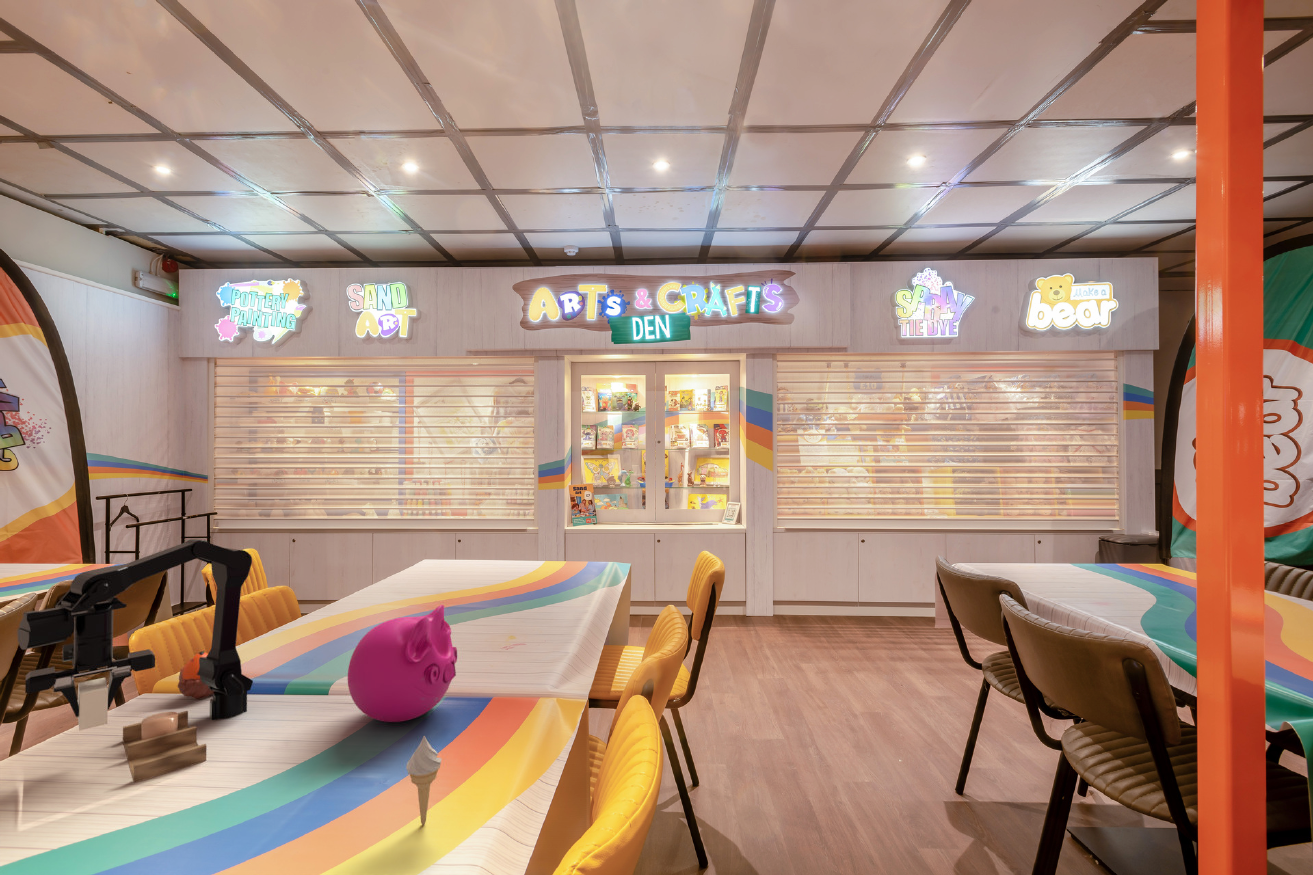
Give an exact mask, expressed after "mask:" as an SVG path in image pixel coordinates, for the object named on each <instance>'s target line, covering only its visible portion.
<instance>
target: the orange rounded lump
mask: <svg viewBox="0 0 1313 875" xmlns="http://www.w3.org/2000/svg"><path fill="white" fill-rule="evenodd" d="M208 653H209V652H205V651H204V650H203V651H199V652H197V654H195V655H194V656H193V657H192V658H191V659H189V660H188V661H187V662H186V663H185V665H184V666H183V667H182V668H180V671H179V676H178V680H179V681H178V683H177V688H178V690H179V692H180V693H181V694H182V695H183V696H184V697H186V698H187V697H190V698H192V699H195V700H203V699H205V698H209V697H212V696H213V692H215V691H213V690H212V691H211V690H210V689H209V687H208V685H205V684H204V683H203V682H201V680H200V676H199V675H197V673H198V671H199V658H200V657H206V656H207V655H208Z"/></svg>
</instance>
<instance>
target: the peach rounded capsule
mask: <svg viewBox="0 0 1313 875" xmlns="http://www.w3.org/2000/svg"><path fill="white" fill-rule="evenodd" d="M178 713H179V712H177V711H165V712H159V713H156V714H152V715H149V716H147V717H145V718H143V719H142V720H141V721H140V722H141V741H143V740H146V739H150V738H154V737H158V736H161V735H165V734H169V733H172V732H176V731H178Z"/></svg>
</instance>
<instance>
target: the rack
mask: <svg viewBox="0 0 1313 875" xmlns="http://www.w3.org/2000/svg"><path fill="white" fill-rule="evenodd" d="M177 713H178V731H176V732H172V733H169V734H165V735H161V736H158V737H154V738H150V739H146V740H143V741H141V722H142V721H140V722H137V723H133V724H129V725H125V726H123V727H122V744H123V747H124V750H125V755H126V757H127V761H128V766H129V768H130V772H131V777H132V781H133V783H134V784H135V783H138V782H141V781H145V780H147V779H151V778H154V777H157V776H161V775H163V774H167V773H171V772H173V771H178V770H181V769H184V768H186V767H190V766H193V765H197V764H200V763H203V762H207V744H206V743H203V744H200V745H199V743H198V742H197V733H198V732H197V730H198V729H197V728H198V727H197V726H196V725H195V726H191V727H189V711H188V710H185V711H180V712H177Z"/></svg>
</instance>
